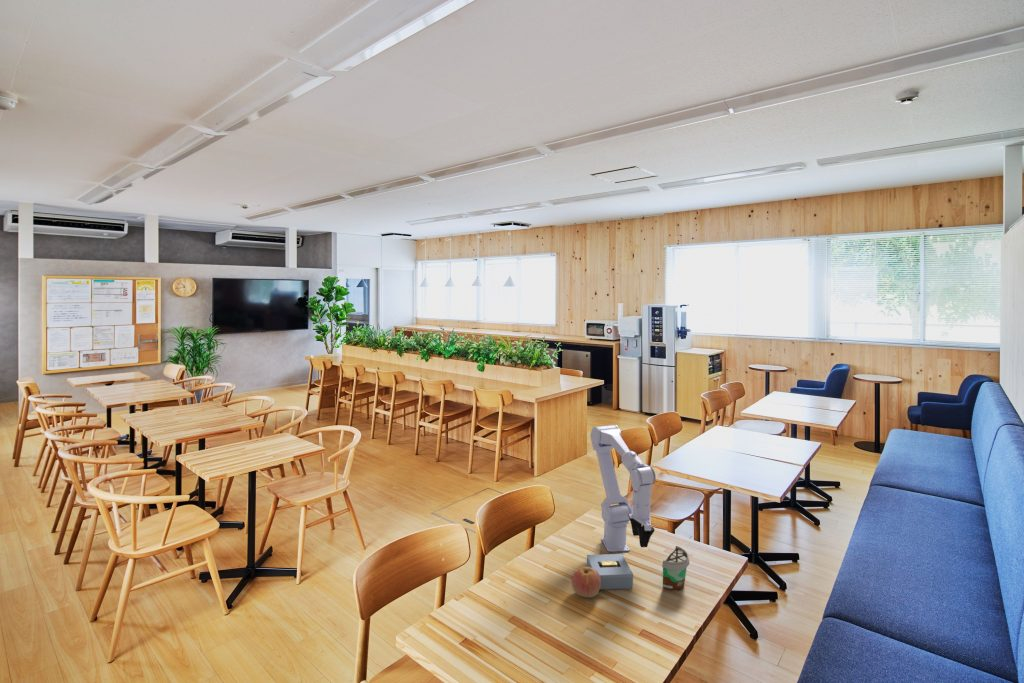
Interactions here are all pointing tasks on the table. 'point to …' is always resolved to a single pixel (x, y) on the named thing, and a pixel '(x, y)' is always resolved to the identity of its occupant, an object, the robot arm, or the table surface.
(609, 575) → the coin box
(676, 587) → the food container
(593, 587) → the apple
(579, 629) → the table surface
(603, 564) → the block
